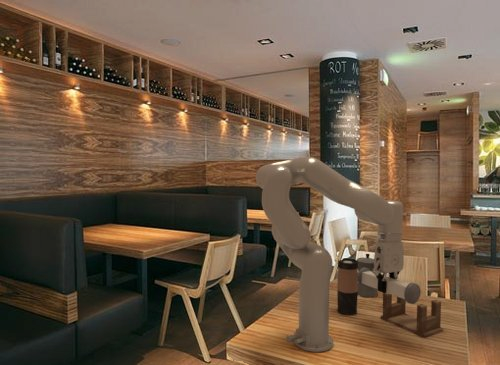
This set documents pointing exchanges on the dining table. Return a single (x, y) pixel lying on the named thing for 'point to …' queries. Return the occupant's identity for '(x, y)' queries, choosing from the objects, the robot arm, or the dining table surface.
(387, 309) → the walnut rack
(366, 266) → the coffeepot
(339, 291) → the travel mug
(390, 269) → the robot arm
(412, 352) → the dining table surface
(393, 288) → the white bar grey caps
